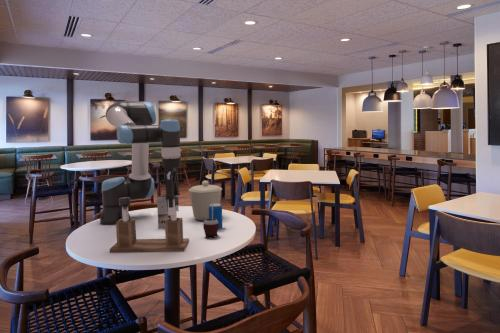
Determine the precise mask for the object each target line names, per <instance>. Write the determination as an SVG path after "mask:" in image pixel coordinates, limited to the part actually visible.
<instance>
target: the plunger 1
mask: <svg viewBox="0 0 500 333" xmlns="http://www.w3.org/2000/svg"><path fill="white" fill-rule="evenodd" d="M119 206H122V217H123V222H129V215H130V214H129V215H128V212H129V206H131V200H130V197H122V198H119Z"/></svg>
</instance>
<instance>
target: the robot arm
mask: <svg viewBox="0 0 500 333" xmlns="http://www.w3.org/2000/svg"><path fill="white" fill-rule="evenodd" d="M105 118H106V120H107V121H108V122H107V123H109V125H111V126H113V127H115V129H116V139H117V142H118V143H119V144H127V145H131V173H130V174H129V175H128V178H127V179H125V177H124V176H118V177H113V178H107V179H105V180H103V181H102V183H101V195H102V196H101V197H102V198H101V200H102V211H101V215H100V217H99V222H100V224H101V225H105V226H106V225H111V226H112V225H116V222H117V221H119V220H120V219H123V217H122V206H119V198H122V197H130V201H135V200H136V201H137V200H145V199H150V198H151V197H152V196H153V195H154V191H155V179H154V178H153V177H152V175H151V174H150V173H149V150H150V148H149V146H150V145H149V144H155V143H157V144H159V143H161V146H160V147H161V157H162V159H161V167H162V168H164V169H166V172H165V173H166V174H164V177H165V178H164V179H165V194H166V198H165V199H166V200H168V215H175V199H174V196H177V197H178V198H179V196H180V195H181V193H180V189H179V188H180V187H179V170H177V168H181V166H182V159H181V152H182V151H183V150H182V149H181V131H180V130H181V128H180V126H181V125H180V121H179V119H162V120H160V123H159V124H156V121H157V115H156V110H155V106H154V105H153V103H152V102H149V101H143V100H142V101H137V100H136V101H128V100H127V101H126V100H125V101H124V100H120V101H117V102H114V103H112V104H110V105H109V106H108V107H107V109H106V111H105ZM179 210H180V209H179V204H178V205H176V212H179ZM128 215H129V219H131V214H130V213H129V211H128Z"/></svg>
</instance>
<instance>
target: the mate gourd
mask: <svg viewBox="0 0 500 333" xmlns="http://www.w3.org/2000/svg"><path fill="white" fill-rule="evenodd" d="M213 203H214V202H212V218H209V219H206V220H205V221H203V225H202V226H203V231H204V236H205V237H204V238H205V239H209V238H212V239H216V237H217V236H218V231H219V230H218V229H219V223H218V221H217V219H215V218H213Z"/></svg>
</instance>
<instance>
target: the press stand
mask: <svg viewBox="0 0 500 333" xmlns="http://www.w3.org/2000/svg"><path fill="white" fill-rule="evenodd" d="M183 222H184V221H183V217H177V221H171V218H168V219H167V220H166V221H165V229H164V230H165V231H164V232H165V238H143V239H142V238H138V239H137V226H136V225H137V224H136V218H130V219H129V222H123V219H120V220H119V221H117V222H116V224H115V229H116V233H115V234H116V243H115V244H113V245H112V246H111V247H110V248H109V253H110V254H111V253H112V254H113V253H155V252H156V253H157V252H158V253H159V252H161V253H162V252H163V253H164V252H185V250H186V249H187V246H188V244H190V243H189V242H190V238H188V237H187V238H186V237H185V238H184V226H183V225H184V224H183Z"/></svg>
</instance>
